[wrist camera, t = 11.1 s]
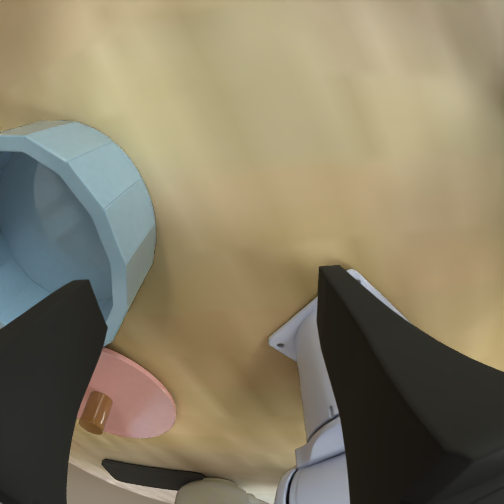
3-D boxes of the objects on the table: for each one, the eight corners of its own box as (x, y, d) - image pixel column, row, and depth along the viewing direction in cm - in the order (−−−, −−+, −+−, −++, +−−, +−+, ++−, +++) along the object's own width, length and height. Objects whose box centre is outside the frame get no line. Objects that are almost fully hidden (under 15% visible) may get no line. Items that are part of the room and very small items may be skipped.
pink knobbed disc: (180, 357, 24) (169, 403, 20) (176, 441, 30) (170, 475, 26) (25, 316, 23) (0, 350, 18) (59, 408, 29) (46, 438, 25)
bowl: (167, 127, 16) (131, 142, 11) (153, 323, 22) (133, 379, 17) (-9, 121, 15) (-63, 137, 10) (9, 285, 21) (-26, 324, 16)
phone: (208, 493, 37) (116, 480, 37) (209, 488, 38) (117, 476, 38) (201, 477, 34) (98, 461, 34) (202, 471, 34) (99, 457, 34)
